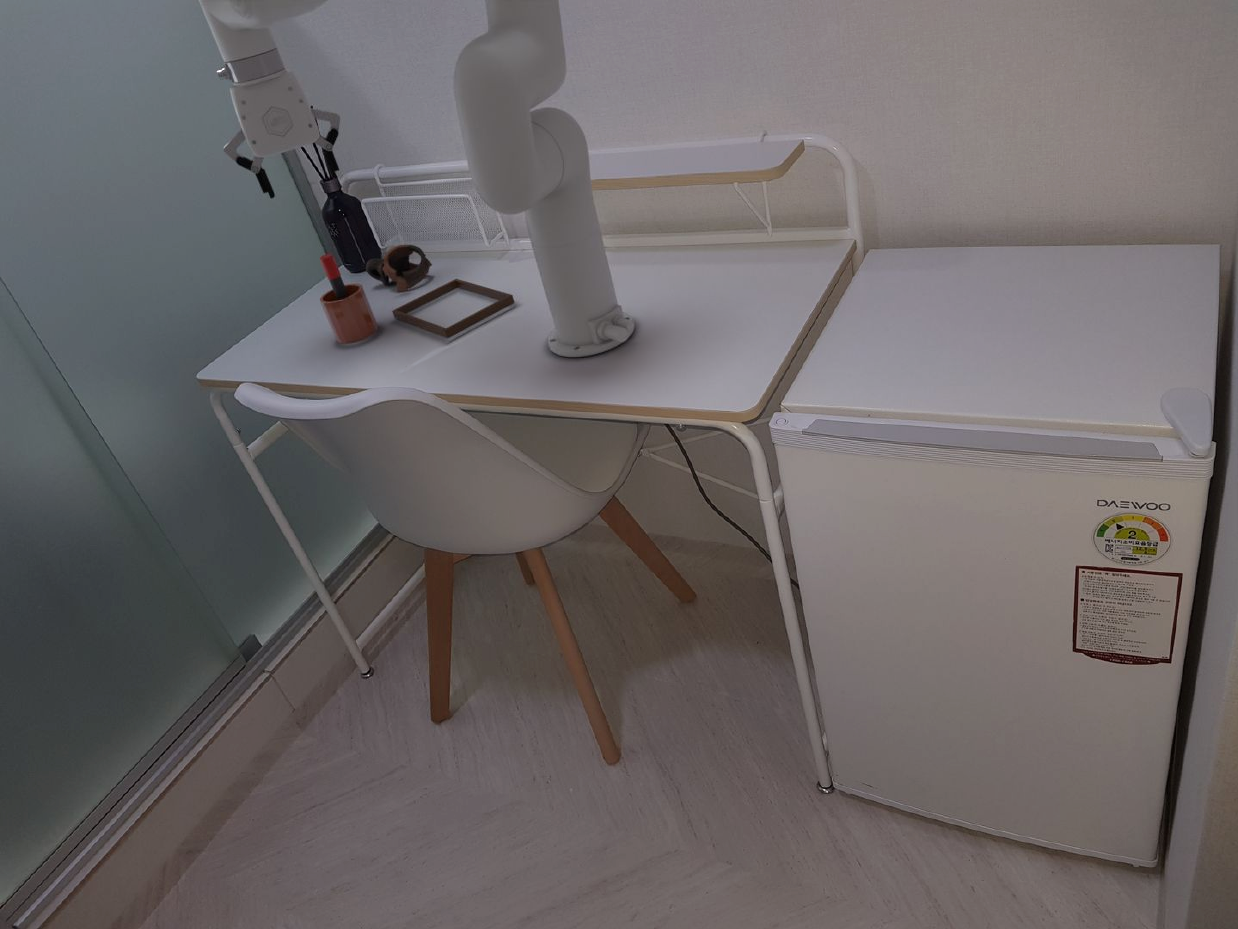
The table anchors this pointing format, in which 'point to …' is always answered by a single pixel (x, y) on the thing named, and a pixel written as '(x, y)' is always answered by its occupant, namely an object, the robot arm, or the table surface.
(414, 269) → the pottery mug
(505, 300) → the tray
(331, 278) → the marker
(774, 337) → the table surface
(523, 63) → the robot arm
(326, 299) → the pen cup
